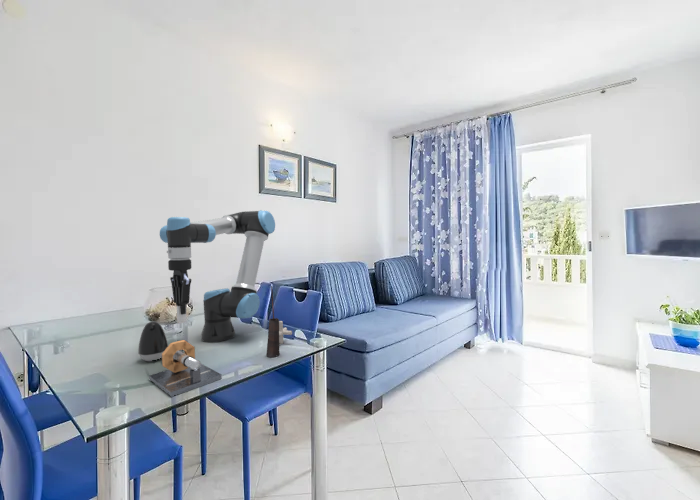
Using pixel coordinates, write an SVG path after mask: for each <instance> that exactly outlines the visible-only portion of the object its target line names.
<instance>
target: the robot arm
mask: <svg viewBox="0 0 700 500" xmlns="http://www.w3.org/2000/svg"><path fill="white" fill-rule="evenodd" d="M275 228H276V222H275V218H274V216H273V214H272V213H271V212H270V211H269V210H262V209H260V210H252V211H251V210H249V211H239V212H235V213H231V214H226V215H225V214H224V215H223V216H222V217H220V218H213V219H205V220H200V221H192V222H191V220H190V218H189V217H187V216H186V217H185V216H183V217H182V216H174V217H173V216H171V217H168V218H167V221H166V225H164V226H161V228H160V230H159V238H160V240H161V241H162V242H163V243H166V244H167V250H166V253H167V255H168V256H167V257H168V259H169V260H168V262H167V263H168V267H167V268H168V270H169V271H173V273H172V276H170V277H169V279H170V284H171V290H172V298H173V303H174V304H175V305H176V318H177V319H176V322H177V324H183V323H187V322H188V321H187V305H188V304H189V305H190V293H191V283H192V279H191V278H189V275H188V270H192V259H191V258H192V244H198V243H199V244H200V243H203V244H207V243H212V242H213V241H214V240H215V238H216V236H217V235H223V234H226V235H232V234H234V235H236V234H241V235H244V236H245V239H246V240H245V242H244V247H243V251H242V256H241V260H240V263H239V269H238V274H237V278H236V282H235V284H234V285H232V286H231V288H228V287H227V288H220V289H213V290H209V291H206V292H204V294H203V301H202V302H203V312H204V313H203V314H204V316H203V317H204V325H203V328H202V332H201V334H200V338H201V339H200V340H201V341H203V342H205V343H218V342H224V341H227V340H230V339H233V338H235V336H236V330H235V328H234V325H233V323H232V320H231V318H235V319H236V318H237V319H250V318H252V317H254V316H255V315H256V314H257V312H258V310H259V308H260V296H259V295H258V294H257V292H258V291H257V289H256V287H255V285H256V280H257V278H258V277H257V276H258V273H259V272H258V271H259V267H260V262H261V258H262V254H263V249H264V243H265V242H266V241H267V240H268V239H269V234H270V235H271V234H273V233H274V232H275V230H276V229H275Z"/></svg>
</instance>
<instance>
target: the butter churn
mask: <svg viewBox="0 0 700 500" xmlns="http://www.w3.org/2000/svg"><path fill="white" fill-rule="evenodd" d="M270 293H271V304H272V305H271V307H272V308H271V309H272V318H269V320H268V329H267V330H268V332H267V343H266V346H267V347H266V356H267V358H275V357H278V356H279V355H280V345H281V344H280V343H279V321H280V319H279V318H277V317H275V312H274V311H275V309H274V296H273V294H274V292H273V286H272V285H271V286H270Z"/></svg>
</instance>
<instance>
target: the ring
mask: <svg viewBox="0 0 700 500" xmlns="http://www.w3.org/2000/svg"><path fill="white" fill-rule="evenodd" d="M195 349H196V348H195V346H194V345H192V344H191V343H190V342H188V341H186V340H185V339H181V340H177V341H173V342H170V343H169V344H168V347H167V348H166V349H165V351H164V352H163V353H162V358H161V362H162V367H163V368H166V370H170V371H172V372H174V373H176V372H179V371H182V370H185V369H187V368H188V367H186V366H184V365H183V364H182V363H180V362H176V363H175V362H173V355H174V354H175V353H176V352H177V351H181V350H182V351H184V354H186V355H188V356H192V357H193V358H194V359H196V351H195Z"/></svg>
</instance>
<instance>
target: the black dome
mask: <svg viewBox="0 0 700 500" xmlns="http://www.w3.org/2000/svg"><path fill="white" fill-rule="evenodd" d="M168 343H169V342H168V338H167V336H166V333H165V331H164V328H163V327H162V325H161V324H160V323H159V322H158V321H154V320H153V321H148V323H146V324H145V325H144V327H143V329H142V330H141V334H140V338H139V342H138V349H137V350H138V351H137V352H138V354H139V357H140V358H141V360H143V361H144V362H153V361H152V360H156V359H159V360H161V359H162V353H163V352H164V351H165V349H166V348H167V347H168V346H169V344H168ZM160 358H161V359H160ZM156 361H157V360H156Z"/></svg>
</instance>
